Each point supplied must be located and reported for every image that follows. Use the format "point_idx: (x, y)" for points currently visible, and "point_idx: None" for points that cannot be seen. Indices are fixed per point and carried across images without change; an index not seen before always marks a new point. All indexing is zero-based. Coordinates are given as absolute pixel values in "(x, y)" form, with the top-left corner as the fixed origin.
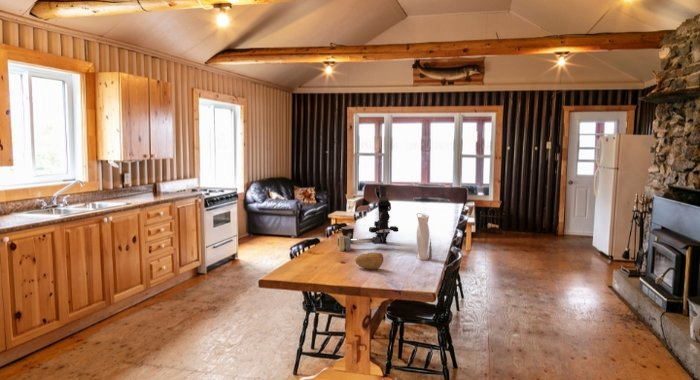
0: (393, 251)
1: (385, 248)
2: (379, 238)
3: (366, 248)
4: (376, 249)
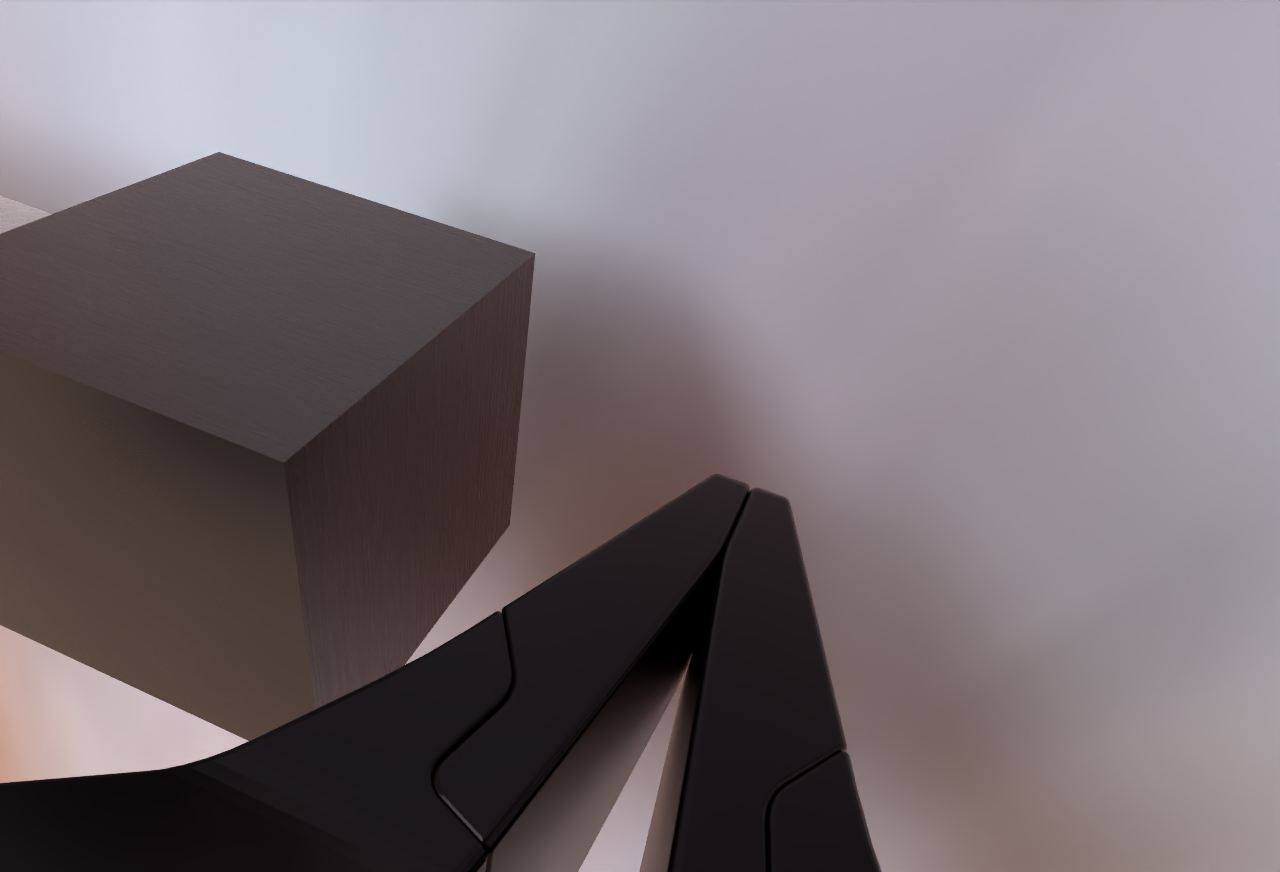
0: None
1: None
2: None
3: (131, 158)
4: None
